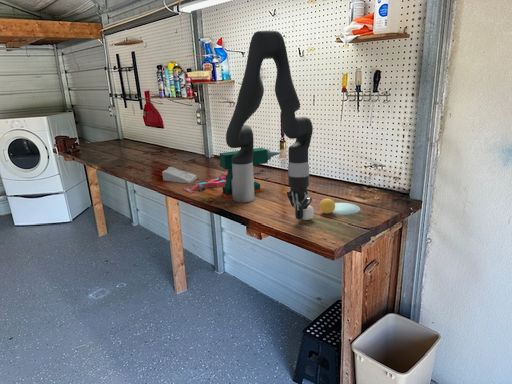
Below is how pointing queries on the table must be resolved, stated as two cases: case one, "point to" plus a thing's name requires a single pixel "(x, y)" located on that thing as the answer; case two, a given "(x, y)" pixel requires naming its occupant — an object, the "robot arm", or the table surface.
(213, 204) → the table surface
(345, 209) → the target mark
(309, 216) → the cue ball
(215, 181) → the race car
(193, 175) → the ramp
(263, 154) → the power tool
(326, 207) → the object ball
